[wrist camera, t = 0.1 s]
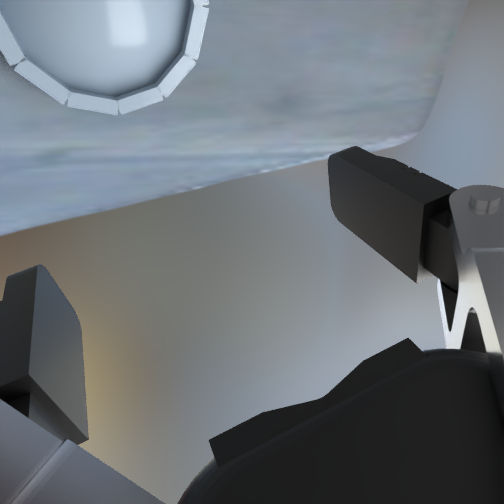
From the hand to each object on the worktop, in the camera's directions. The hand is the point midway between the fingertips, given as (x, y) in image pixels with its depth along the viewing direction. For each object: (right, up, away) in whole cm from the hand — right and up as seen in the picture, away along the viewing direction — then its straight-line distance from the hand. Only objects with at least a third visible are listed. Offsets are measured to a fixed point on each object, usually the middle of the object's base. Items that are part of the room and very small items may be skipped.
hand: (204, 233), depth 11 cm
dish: (-8, +15, +14) cm, 22 cm away
